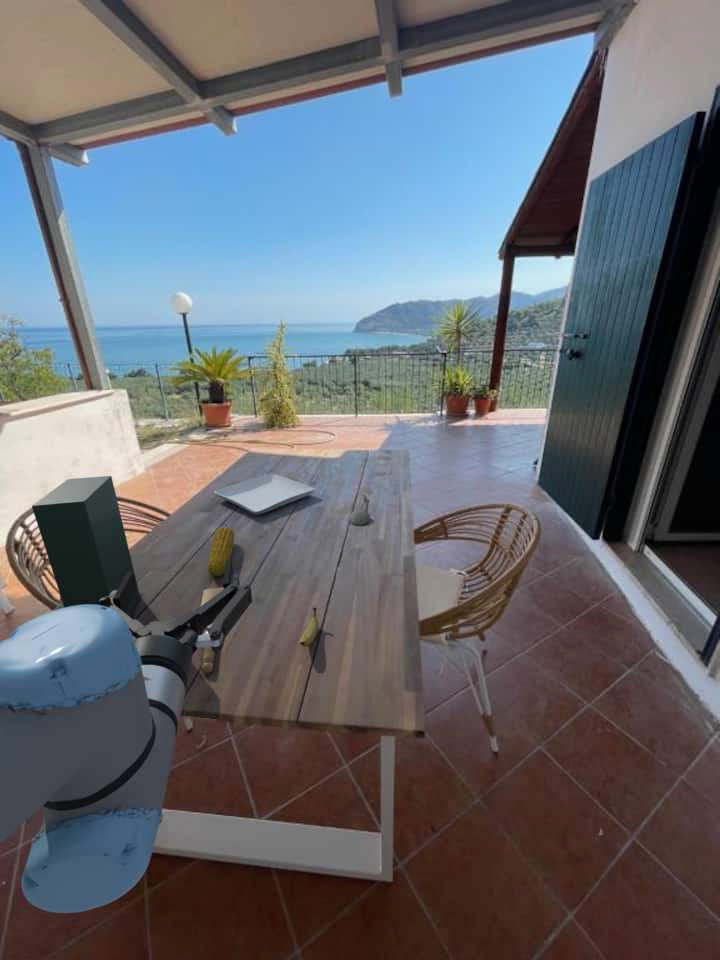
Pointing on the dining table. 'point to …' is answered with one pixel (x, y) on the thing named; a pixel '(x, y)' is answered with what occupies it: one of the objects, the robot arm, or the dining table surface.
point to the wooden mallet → (208, 653)
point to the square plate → (264, 493)
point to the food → (220, 550)
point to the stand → (85, 540)
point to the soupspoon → (360, 515)
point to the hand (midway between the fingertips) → (182, 572)
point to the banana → (310, 631)
